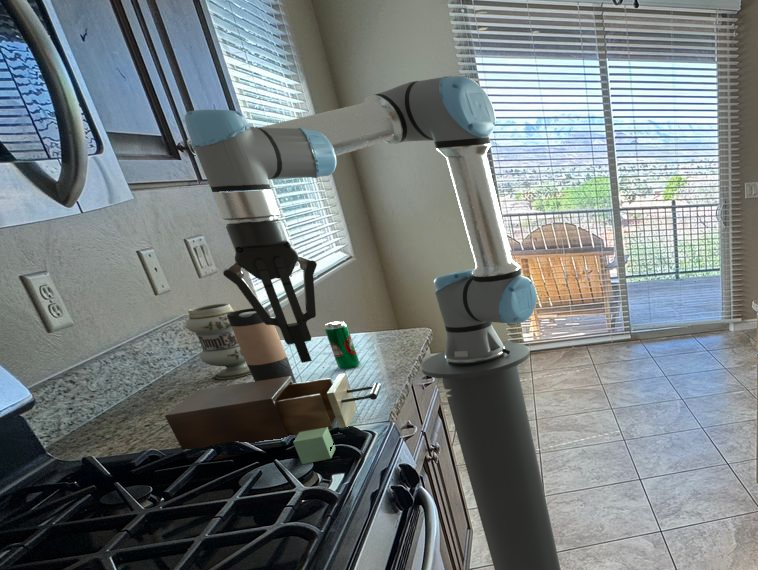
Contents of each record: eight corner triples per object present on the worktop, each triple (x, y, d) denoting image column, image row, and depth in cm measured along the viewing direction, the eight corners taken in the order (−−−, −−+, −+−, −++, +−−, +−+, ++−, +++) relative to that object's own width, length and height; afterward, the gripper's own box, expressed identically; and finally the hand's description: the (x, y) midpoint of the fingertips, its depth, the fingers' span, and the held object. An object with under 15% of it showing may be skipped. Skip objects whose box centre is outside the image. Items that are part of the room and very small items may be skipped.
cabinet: (308, 419, 119) (290, 376, 115) (291, 445, 107) (271, 398, 103) (217, 435, 114) (195, 390, 110) (189, 464, 102) (164, 415, 98)
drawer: (389, 402, 123) (378, 368, 120) (382, 423, 113) (370, 386, 109) (277, 421, 116) (262, 385, 113) (259, 445, 106) (241, 407, 103)
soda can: (335, 368, 151) (319, 324, 146) (355, 362, 155) (340, 319, 150) (344, 371, 149) (328, 326, 144) (363, 365, 152) (349, 321, 147)
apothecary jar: (230, 367, 157) (202, 303, 149) (275, 364, 158) (249, 299, 150) (198, 382, 146) (165, 313, 138) (246, 378, 147) (217, 310, 139)
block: (335, 448, 105) (327, 427, 103) (331, 458, 102) (322, 436, 100) (308, 454, 104) (299, 432, 102) (302, 464, 100) (292, 441, 98)
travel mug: (282, 388, 139) (249, 307, 130) (308, 388, 137) (276, 307, 128) (253, 399, 132) (216, 315, 123) (280, 401, 130) (244, 315, 122)
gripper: (299, 215, 97) (344, 348, 107) (202, 223, 90) (260, 364, 100) (303, 217, 91) (351, 356, 101) (200, 225, 84) (262, 374, 94)
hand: (306, 360), depth 100 cm, fingers closed
